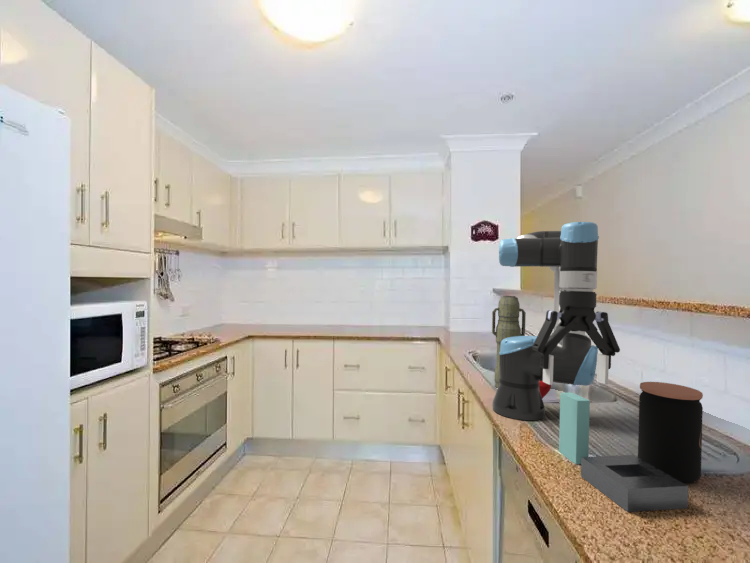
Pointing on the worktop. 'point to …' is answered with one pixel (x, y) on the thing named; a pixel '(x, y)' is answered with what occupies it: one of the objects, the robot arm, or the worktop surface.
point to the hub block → (634, 483)
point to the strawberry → (544, 388)
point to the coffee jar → (671, 429)
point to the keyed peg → (574, 427)
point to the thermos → (506, 325)
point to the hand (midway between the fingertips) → (575, 383)
